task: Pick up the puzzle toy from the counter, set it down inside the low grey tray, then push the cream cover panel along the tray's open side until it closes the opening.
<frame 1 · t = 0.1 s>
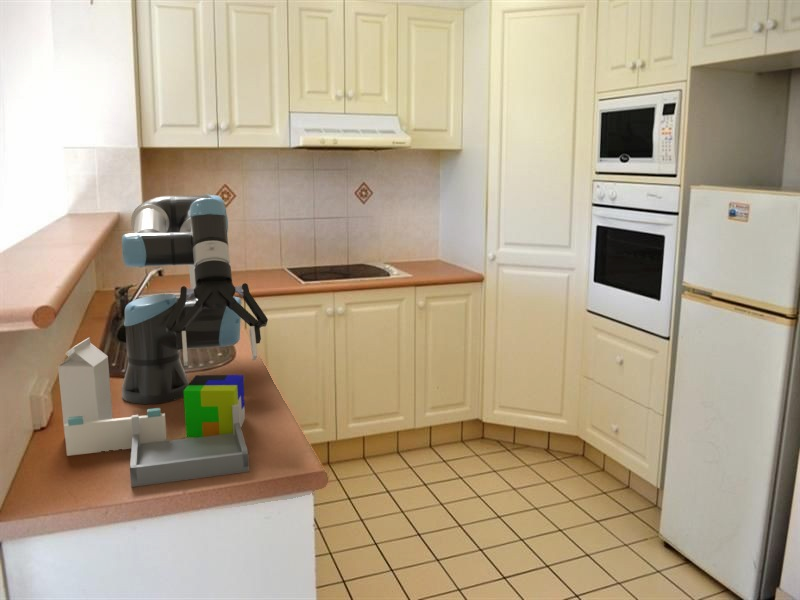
hand: (220, 361, 143), 15 cm above the worktop, tool tilted 35°, fingers open, 13 cm apart
milk carton: (89, 432, 146), on the worktop
puzzle toy: (216, 429, 148), on the worktop
cover panel: (116, 431, 137), point 4 cm above the worktop, slide at 0.0 cm
grey tray: (189, 460, 132), on the worktop
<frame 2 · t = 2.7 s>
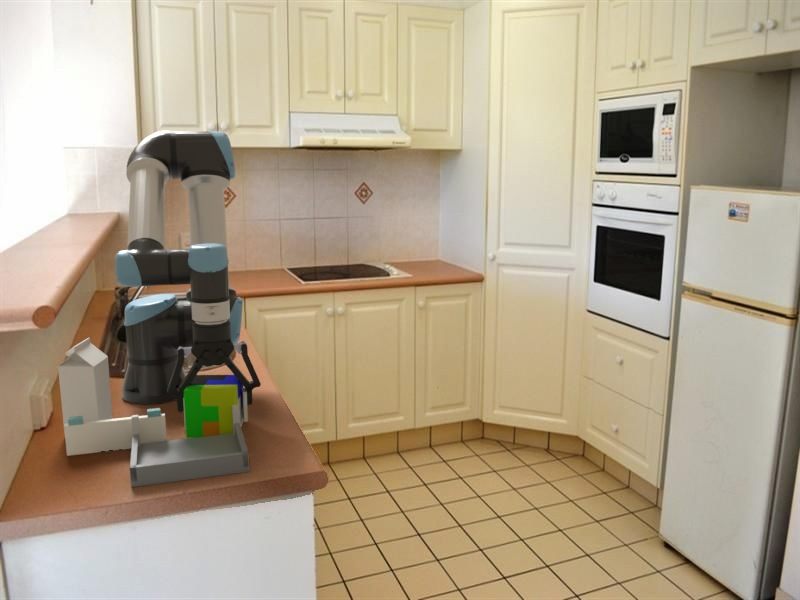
hand: (216, 422, 148), 1 cm above the worktop, tool pointing down, fingers closed on puzzle toy, 11 cm apart
puzzle toy: (216, 428, 148), on the worktop, touching gripper
everything else where it was.
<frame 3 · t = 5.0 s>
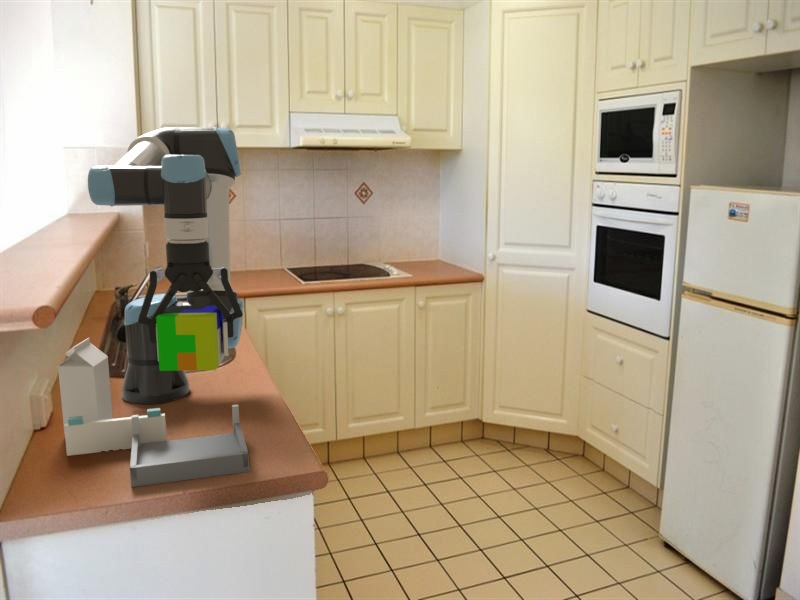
hand: (193, 356, 133), 19 cm above the worktop, tool pointing down, fingers closed on puzzle toy, 11 cm apart
puzzle toy: (193, 364, 134), point 17 cm above the worktop, touching gripper
everything else where it was.
when the fingers open (5 cm above the worktop, at t = 7.5 s): puzzle toy drops 2 cm, resting on grey tray.
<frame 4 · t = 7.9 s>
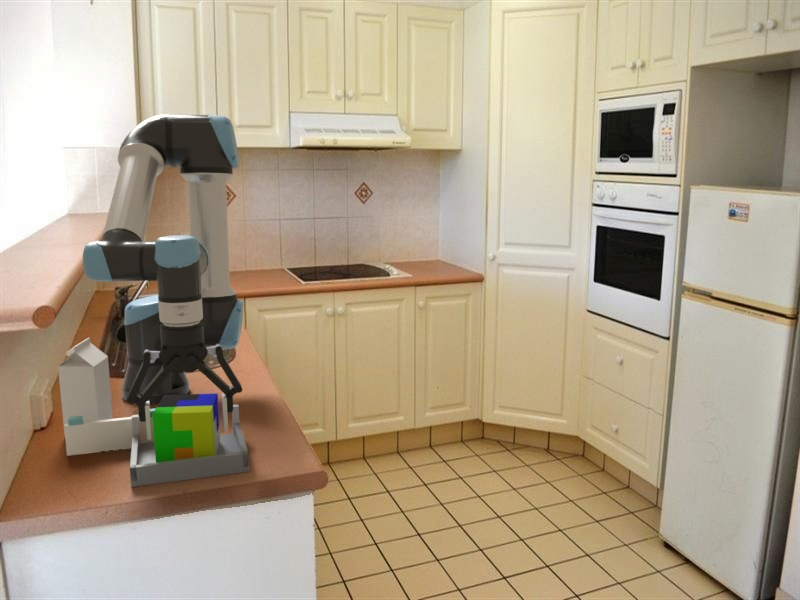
hand: (188, 432, 132), 5 cm above the worktop, tool pointing down, fingers open, 13 cm apart
puzzle toy: (189, 454, 133), point 1 cm above the worktop, touching grey tray
everything else where it was.
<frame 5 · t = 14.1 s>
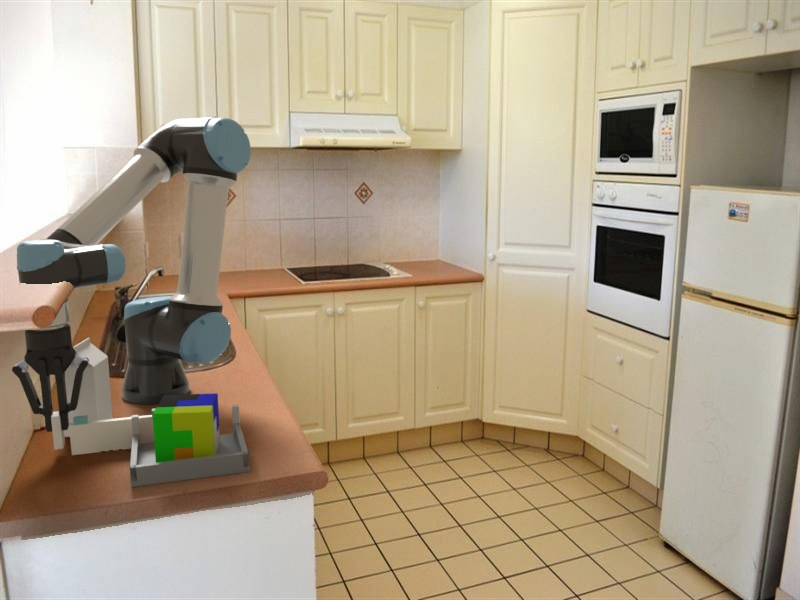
hand: (59, 446, 134), 2 cm above the worktop, tool pointing down, fingers closed
cover panel: (121, 430, 137), point 4 cm above the worktop, slide at 0.9 cm, touching gripper
everything else where it was.
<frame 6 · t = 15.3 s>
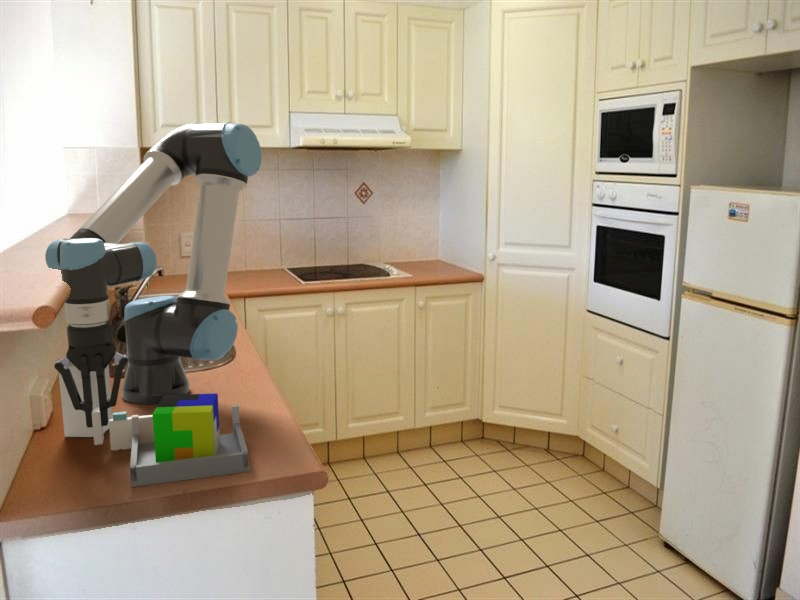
hand: (99, 441, 136), 2 cm above the worktop, tool pointing down, fingers closed
cover panel: (159, 426, 139), point 4 cm above the worktop, slide at 7.8 cm, touching gripper
everything else where it was.
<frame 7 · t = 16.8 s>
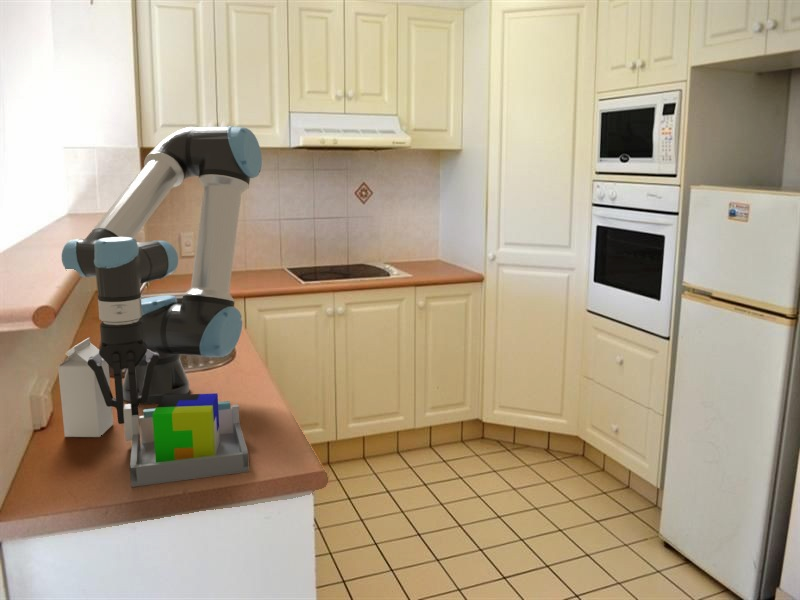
hand: (129, 438, 138), 2 cm above the worktop, tool pointing down, fingers closed
cover panel: (188, 423, 141), point 4 cm above the worktop, slide at 13.3 cm
everything else where it was.
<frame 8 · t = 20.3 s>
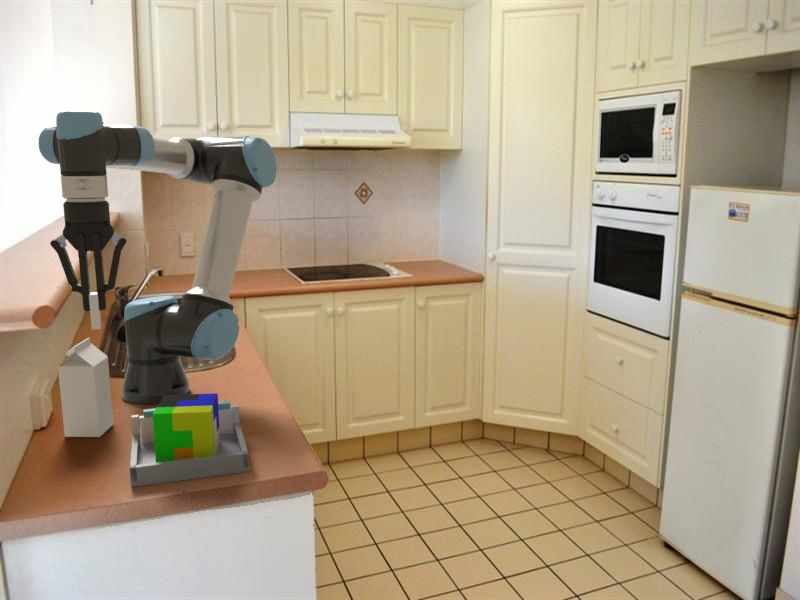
hand: (96, 327, 132), 24 cm above the worktop, tool pointing down, fingers closed
nothing on the worktop moved.
at the end: puzzle toy inside the target area on the grey tray (0.4 cm from its centre), point 0.8 cm above the grey tray's base; puzzle toy tilted 0°; cover panel slide at 13.3 cm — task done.
